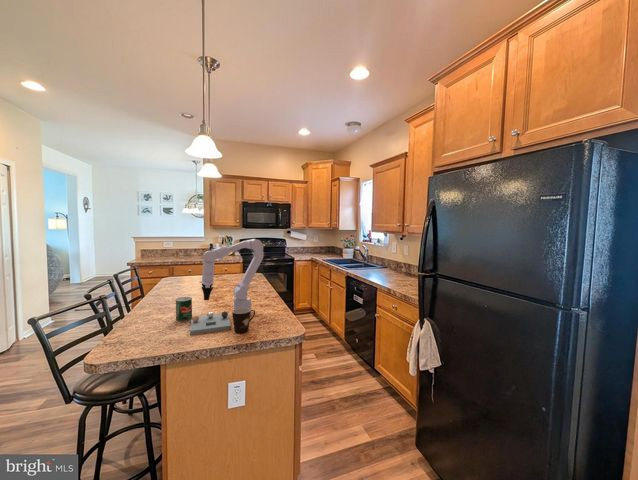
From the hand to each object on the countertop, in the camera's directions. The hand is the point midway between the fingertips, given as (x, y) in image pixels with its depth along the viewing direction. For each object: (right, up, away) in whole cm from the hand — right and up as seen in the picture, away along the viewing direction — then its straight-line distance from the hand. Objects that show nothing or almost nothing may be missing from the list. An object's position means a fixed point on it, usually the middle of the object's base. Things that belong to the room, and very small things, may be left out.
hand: (206, 298), depth 144 cm
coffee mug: (+25, -13, -15) cm, 31 cm away
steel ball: (+4, -8, -3) cm, 9 cm away
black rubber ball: (+11, -8, -3) cm, 14 cm away
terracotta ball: (-2, -8, -9) cm, 12 cm away
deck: (+6, -12, -8) cm, 15 cm away
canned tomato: (-12, -12, +1) cm, 17 cm away
